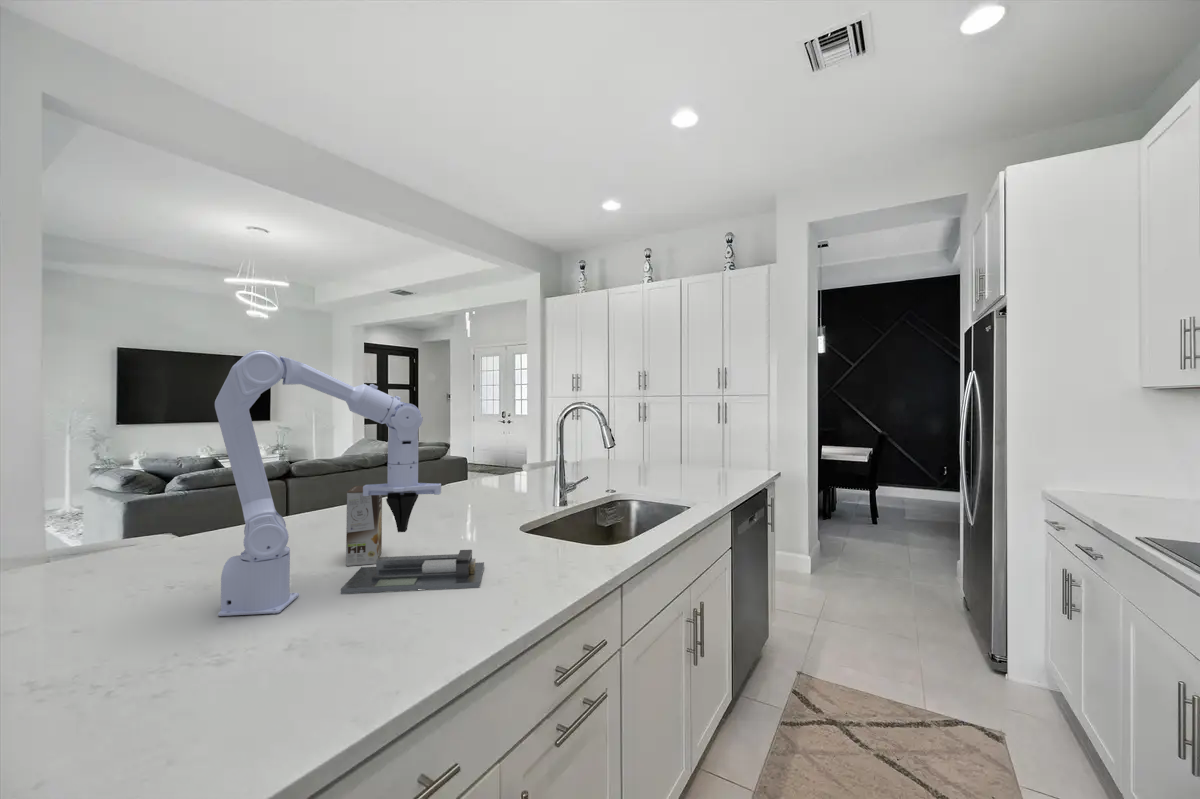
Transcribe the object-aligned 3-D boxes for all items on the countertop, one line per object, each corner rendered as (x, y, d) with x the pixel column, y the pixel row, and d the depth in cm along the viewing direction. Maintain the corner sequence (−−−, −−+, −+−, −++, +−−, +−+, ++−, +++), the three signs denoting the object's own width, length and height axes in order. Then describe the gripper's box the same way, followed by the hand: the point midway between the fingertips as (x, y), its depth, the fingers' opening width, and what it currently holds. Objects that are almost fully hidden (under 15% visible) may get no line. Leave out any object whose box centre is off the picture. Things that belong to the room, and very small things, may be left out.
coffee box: (377, 564, 111) (378, 490, 111) (345, 566, 109) (345, 492, 109) (382, 552, 120) (382, 483, 120) (352, 554, 118) (352, 485, 118)
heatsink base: (340, 593, 94) (340, 569, 94) (361, 572, 106) (361, 549, 106) (479, 587, 98) (479, 563, 98) (484, 567, 110) (484, 545, 110)
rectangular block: (422, 576, 100) (422, 565, 100) (425, 571, 103) (425, 560, 103) (473, 574, 102) (474, 563, 102) (475, 569, 105) (475, 558, 105)
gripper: (358, 465, 96) (357, 537, 96) (437, 465, 98) (436, 535, 98) (369, 461, 103) (368, 528, 103) (443, 460, 105) (442, 526, 105)
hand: (402, 531), depth 101 cm, fingers closed
